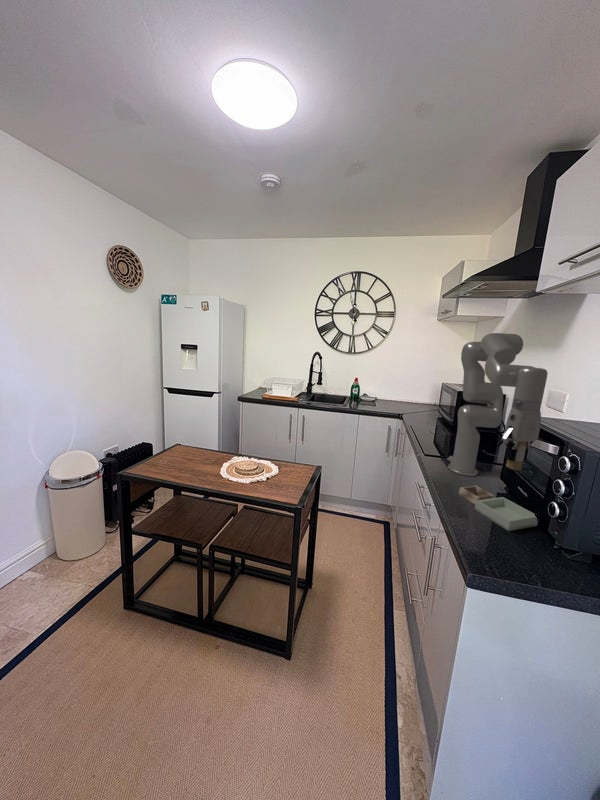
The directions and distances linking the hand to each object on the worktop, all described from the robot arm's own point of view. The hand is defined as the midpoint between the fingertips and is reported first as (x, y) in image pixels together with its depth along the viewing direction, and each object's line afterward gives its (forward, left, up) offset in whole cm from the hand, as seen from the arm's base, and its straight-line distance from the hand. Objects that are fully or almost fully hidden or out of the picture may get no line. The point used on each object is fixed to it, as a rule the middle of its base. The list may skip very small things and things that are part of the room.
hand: (515, 458), depth 103 cm
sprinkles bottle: (0, 0, -4) cm, 4 cm away
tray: (0, 0, -21) cm, 21 cm away
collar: (-13, +1, -21) cm, 25 cm away
